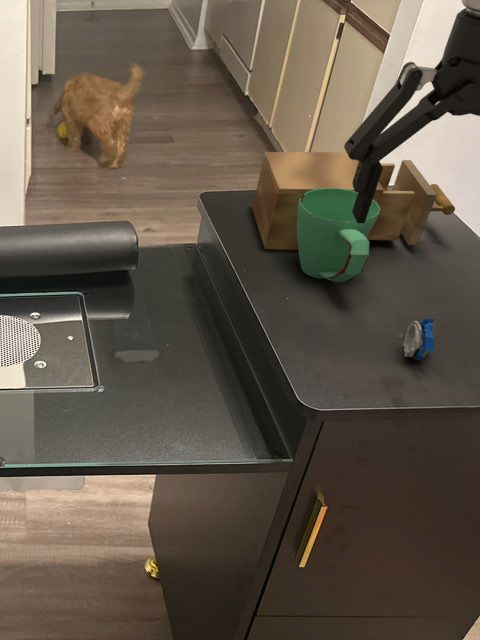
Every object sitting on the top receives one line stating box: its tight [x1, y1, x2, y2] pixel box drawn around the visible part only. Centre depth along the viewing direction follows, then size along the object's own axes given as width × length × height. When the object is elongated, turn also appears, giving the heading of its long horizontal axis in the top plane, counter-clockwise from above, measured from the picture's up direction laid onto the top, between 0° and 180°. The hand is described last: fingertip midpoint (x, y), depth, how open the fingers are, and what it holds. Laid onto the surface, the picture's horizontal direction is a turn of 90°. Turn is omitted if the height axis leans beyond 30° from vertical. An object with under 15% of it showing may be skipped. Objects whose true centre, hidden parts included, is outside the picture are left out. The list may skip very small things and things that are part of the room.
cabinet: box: [251, 151, 384, 251], centre depth 107 cm, size 14×13×10 cm
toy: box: [396, 318, 436, 362], centre depth 85 cm, size 5×4×5 cm
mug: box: [297, 188, 380, 283], centre depth 97 cm, size 15×10×10 cm
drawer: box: [367, 159, 456, 246], centre depth 106 cm, size 17×11×8 cm
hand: (423, 220), depth 80 cm, fingers open, 13 cm apart
